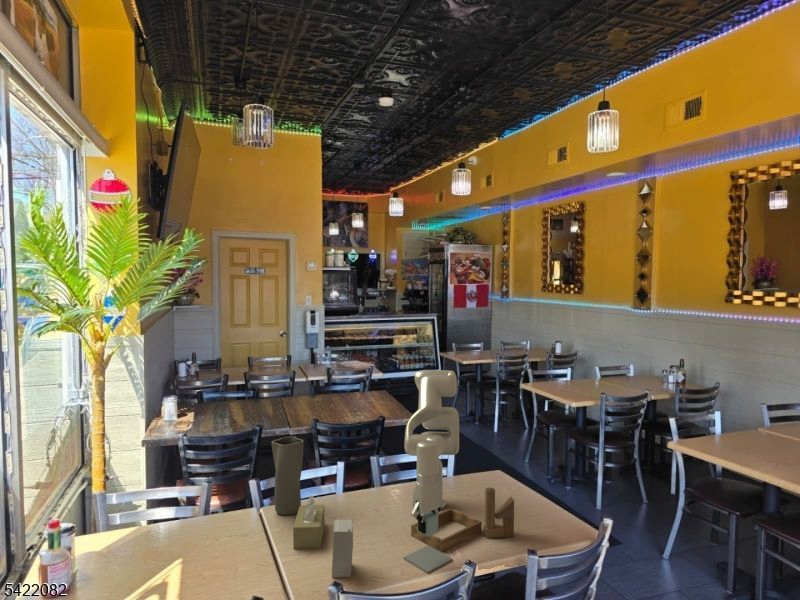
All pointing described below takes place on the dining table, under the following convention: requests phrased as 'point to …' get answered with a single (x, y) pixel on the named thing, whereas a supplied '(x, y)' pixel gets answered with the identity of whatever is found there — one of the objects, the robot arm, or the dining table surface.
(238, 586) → the dining table surface
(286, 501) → the vase
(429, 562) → the mat
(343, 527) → the skincare box
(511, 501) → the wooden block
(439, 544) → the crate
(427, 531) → the block
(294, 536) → the tissue box
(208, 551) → the dining table surface
